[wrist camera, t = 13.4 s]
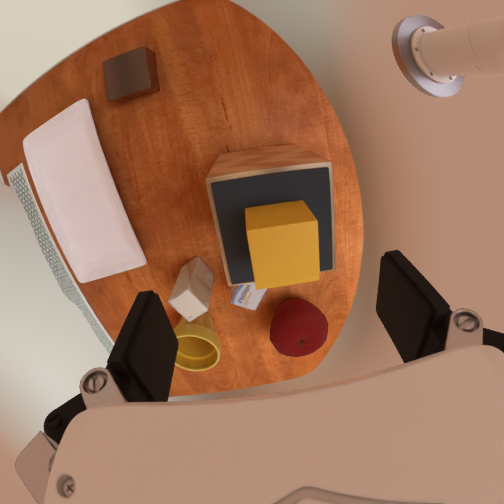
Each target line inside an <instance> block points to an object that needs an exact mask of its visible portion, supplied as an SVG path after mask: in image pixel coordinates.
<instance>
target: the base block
mask: <svg viewBox="0 0 504 504" xmlns="http://www.w3.org/2000/svg"><path fill="white" fill-rule="evenodd" d="M103 69H104V77H105V85H106V92H107V98H108V102H119V103H122V102H124V101H127V100H130V99H133V98H136V97H140V96H143V95H146V94H149V93H153V92H156V91H160V87H159V81H158V75H157V68H156V61H155V54H154V52H152V51H151V50H149V49H148V48H147V47H145V46H144V47H141V48H138V49H135V50H132V51H129V52H126V53H124V54H121V55H118V56H116V57H113V58H111V59H108V60H106V61H103Z"/></svg>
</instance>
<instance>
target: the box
mask: <svg viewBox="0 0 504 504" xmlns="http://www.w3.org/2000/svg"><path fill="white" fill-rule="evenodd" d="M213 279H214V273H213V272H212V271H211V270H210V269H209V268H208V267H207V266H206V264H205V263H204V262H203V261H202V260H201V259H200V258H199V257H198V256H197V257H195V258H194V259H192V260H191V261H189V262H188V263H186V264H185V265H184V266H182V267H181V270H180V272H179V275H178V278H177V280H176V283H175V285H174V288H173V290H172V293H171V296H170V298H169V301H168V302H169V304H170V305H171V306H172V307H174V308H175V309H176V310H177V311H178V312H179V313H180V314H181V315H182V316H183V317H184V318H185V319H186V320H187V321H189V322H190V321H192V320H194V319H195V318H197V317H199V316H200V315H202V314H204V313H205V312H207V311H208V307H209V301H210V296H211V290H212V285H213Z"/></svg>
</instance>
